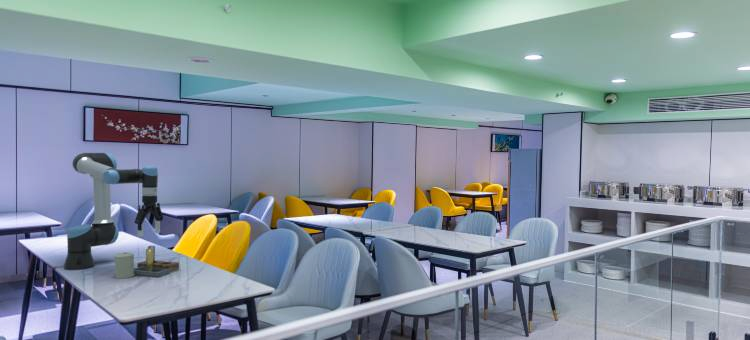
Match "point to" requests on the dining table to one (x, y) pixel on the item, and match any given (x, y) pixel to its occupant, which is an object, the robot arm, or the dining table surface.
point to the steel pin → (153, 252)
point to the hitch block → (162, 265)
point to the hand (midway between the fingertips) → (149, 234)
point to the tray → (156, 272)
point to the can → (124, 265)
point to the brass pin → (149, 260)
